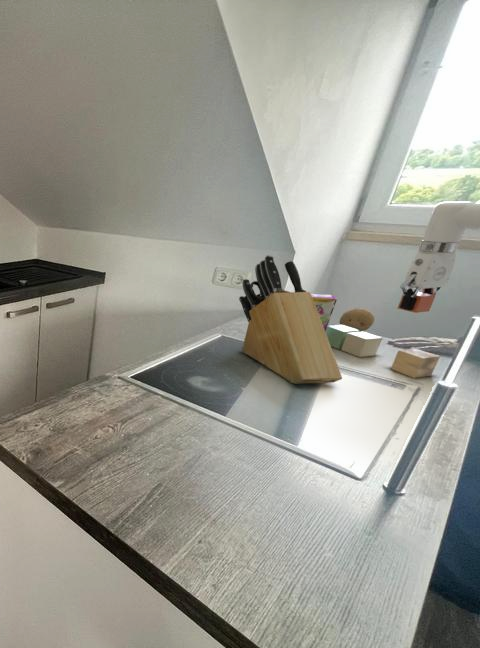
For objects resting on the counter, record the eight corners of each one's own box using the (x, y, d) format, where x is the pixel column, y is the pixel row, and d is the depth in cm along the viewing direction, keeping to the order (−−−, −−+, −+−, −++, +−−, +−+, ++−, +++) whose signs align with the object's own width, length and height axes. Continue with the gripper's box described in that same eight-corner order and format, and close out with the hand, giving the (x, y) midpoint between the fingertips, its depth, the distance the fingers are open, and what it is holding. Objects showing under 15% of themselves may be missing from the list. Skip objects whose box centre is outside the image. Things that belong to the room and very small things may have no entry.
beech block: (407, 367, 114) (415, 348, 112) (431, 375, 109) (440, 356, 107) (390, 369, 114) (398, 350, 111) (413, 377, 108) (422, 358, 106)
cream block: (356, 348, 128) (362, 331, 126) (375, 355, 123) (382, 337, 120) (341, 350, 127) (347, 332, 125) (359, 357, 122) (366, 339, 119)
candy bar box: (283, 342, 134) (296, 296, 128) (279, 337, 139) (292, 292, 132) (322, 345, 131) (338, 298, 124) (316, 340, 135) (331, 294, 129)
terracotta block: (410, 307, 122) (416, 291, 120) (429, 311, 117) (435, 295, 115) (397, 308, 121) (403, 292, 119) (415, 312, 117) (422, 296, 115)
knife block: (256, 341, 136) (280, 251, 124) (340, 388, 104) (383, 272, 91) (224, 342, 136) (245, 252, 123) (298, 389, 104) (336, 274, 91)
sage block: (336, 340, 134) (342, 324, 132) (353, 347, 129) (359, 330, 126) (321, 342, 133) (326, 325, 131) (338, 348, 128) (344, 331, 126)
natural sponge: (360, 341, 133) (371, 313, 129) (330, 334, 140) (339, 307, 136) (372, 336, 137) (382, 309, 133) (341, 329, 145) (350, 303, 140)
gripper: (428, 251, 107) (403, 314, 115) (478, 247, 110) (451, 309, 117) (398, 247, 114) (377, 307, 121) (446, 244, 116) (422, 303, 124)
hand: (413, 307), depth 119 cm, fingers closed on terracotta block, 5 cm apart
